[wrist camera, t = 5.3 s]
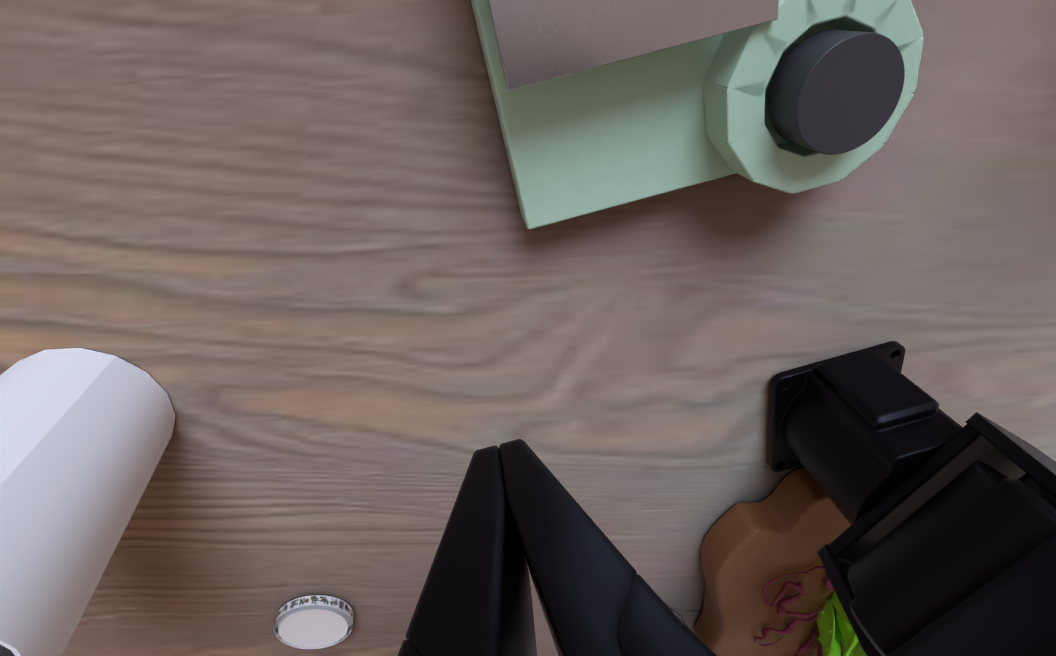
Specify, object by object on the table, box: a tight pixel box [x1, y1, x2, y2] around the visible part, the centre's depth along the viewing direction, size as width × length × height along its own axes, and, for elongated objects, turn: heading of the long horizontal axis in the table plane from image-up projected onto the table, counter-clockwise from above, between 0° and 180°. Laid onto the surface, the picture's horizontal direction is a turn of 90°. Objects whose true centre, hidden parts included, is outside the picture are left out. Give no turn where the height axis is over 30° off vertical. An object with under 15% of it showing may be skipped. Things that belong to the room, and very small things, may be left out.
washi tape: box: [274, 595, 354, 649], centre depth 29 cm, size 4×4×1 cm
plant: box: [695, 468, 867, 656], centre depth 30 cm, size 20×20×11 cm
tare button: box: [768, 30, 905, 155], centre depth 16 cm, size 3×3×2 cm
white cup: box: [0, 348, 176, 656], centre depth 17 cm, size 7×7×10 cm
